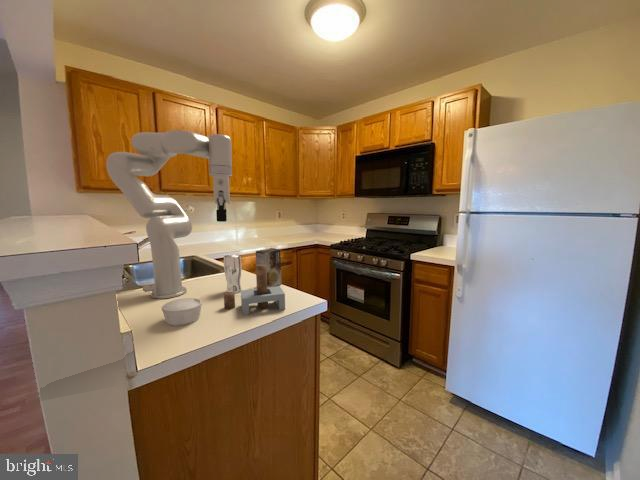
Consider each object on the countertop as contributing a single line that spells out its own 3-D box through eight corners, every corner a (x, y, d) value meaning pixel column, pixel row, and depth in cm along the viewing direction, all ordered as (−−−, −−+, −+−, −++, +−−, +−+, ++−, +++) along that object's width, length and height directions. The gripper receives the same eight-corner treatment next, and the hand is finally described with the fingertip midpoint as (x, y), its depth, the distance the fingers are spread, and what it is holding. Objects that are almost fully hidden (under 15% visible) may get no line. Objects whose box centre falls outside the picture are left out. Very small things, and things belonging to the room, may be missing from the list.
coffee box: (272, 282, 124) (271, 247, 122) (282, 284, 120) (281, 249, 118) (256, 286, 117) (255, 250, 115) (266, 289, 113) (264, 252, 111)
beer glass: (224, 294, 108) (222, 257, 106) (226, 289, 114) (224, 254, 112) (242, 293, 109) (240, 257, 107) (243, 287, 116) (241, 253, 114)
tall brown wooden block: (258, 309, 92) (256, 267, 90) (257, 305, 95) (255, 264, 93) (268, 308, 93) (267, 266, 91) (267, 304, 97) (265, 263, 95)
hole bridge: (243, 315, 88) (242, 298, 87) (241, 305, 96) (240, 290, 95) (285, 309, 92) (284, 293, 92) (280, 300, 101) (279, 286, 100)
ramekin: (208, 319, 85) (207, 303, 84) (168, 331, 77) (167, 314, 76) (195, 309, 93) (194, 295, 92) (158, 319, 85) (157, 303, 84)
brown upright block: (224, 310, 92) (223, 296, 91) (224, 306, 96) (223, 292, 95) (235, 308, 93) (234, 294, 93) (235, 304, 97) (234, 291, 96)
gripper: (232, 170, 88) (233, 222, 90) (231, 174, 104) (232, 218, 107) (207, 168, 85) (209, 222, 88) (210, 173, 102) (212, 218, 104)
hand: (221, 220), depth 97 cm, fingers open, 9 cm apart
